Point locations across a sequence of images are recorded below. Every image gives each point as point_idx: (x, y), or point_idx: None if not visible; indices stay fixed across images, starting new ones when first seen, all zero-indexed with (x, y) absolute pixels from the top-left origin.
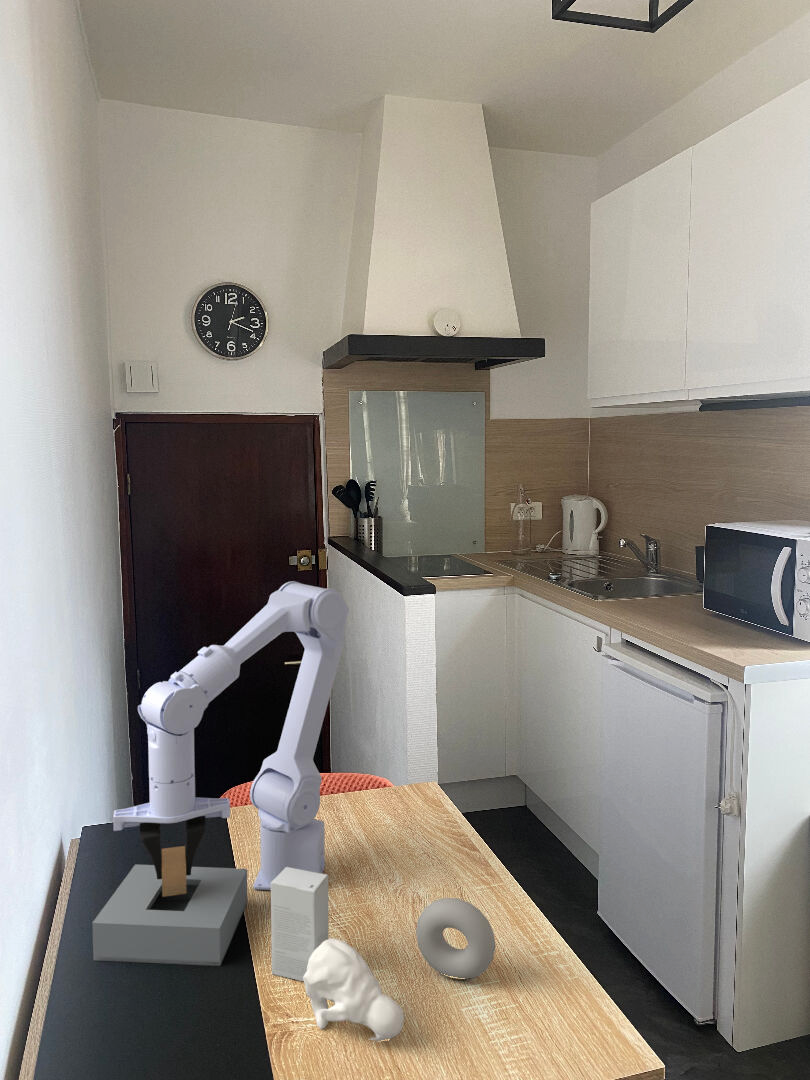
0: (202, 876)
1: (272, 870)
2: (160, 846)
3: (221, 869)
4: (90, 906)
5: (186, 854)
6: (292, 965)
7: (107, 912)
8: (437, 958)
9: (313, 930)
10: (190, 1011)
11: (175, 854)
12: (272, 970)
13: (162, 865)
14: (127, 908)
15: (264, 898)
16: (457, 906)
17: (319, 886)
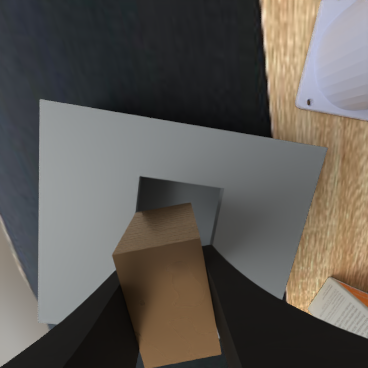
0: (225, 174)
1: (359, 98)
2: (109, 328)
3: (267, 145)
4: (9, 134)
5: (224, 350)
6: None
7: (53, 295)
8: None
9: None
10: (217, 355)
11: (175, 297)
12: (311, 313)
13: (144, 358)
14: (89, 283)
15: (310, 135)
16: None
17: None
